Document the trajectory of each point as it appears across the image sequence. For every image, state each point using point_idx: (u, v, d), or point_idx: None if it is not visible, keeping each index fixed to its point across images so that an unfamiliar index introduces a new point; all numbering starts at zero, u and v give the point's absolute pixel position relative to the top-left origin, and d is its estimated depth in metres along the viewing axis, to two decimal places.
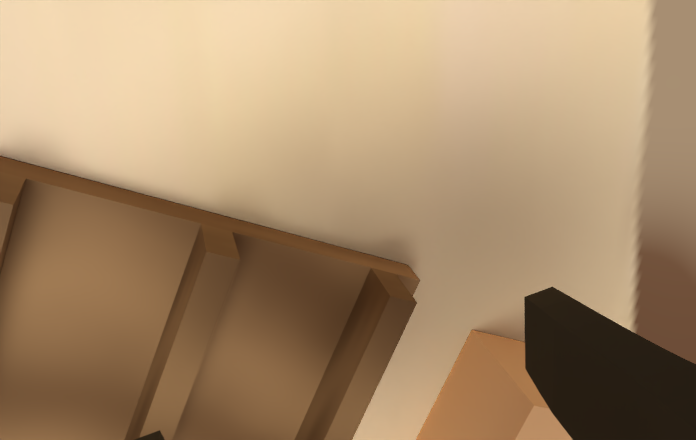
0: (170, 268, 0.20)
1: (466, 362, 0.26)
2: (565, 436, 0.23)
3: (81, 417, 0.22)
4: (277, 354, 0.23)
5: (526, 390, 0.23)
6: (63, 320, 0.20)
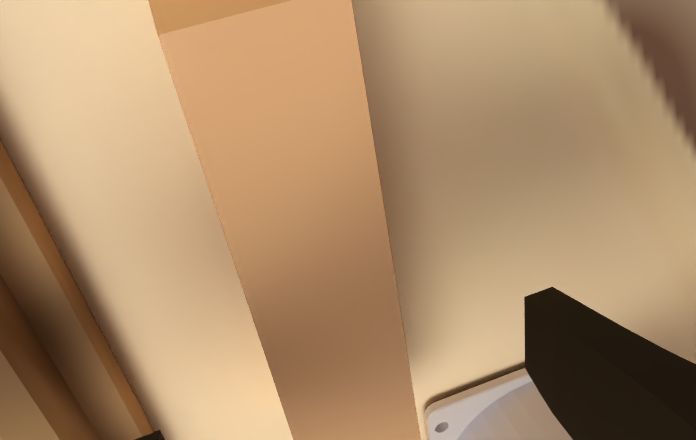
0: None
1: None
2: (302, 62, 0.11)
3: None
4: None
5: (171, 14, 0.10)
6: None
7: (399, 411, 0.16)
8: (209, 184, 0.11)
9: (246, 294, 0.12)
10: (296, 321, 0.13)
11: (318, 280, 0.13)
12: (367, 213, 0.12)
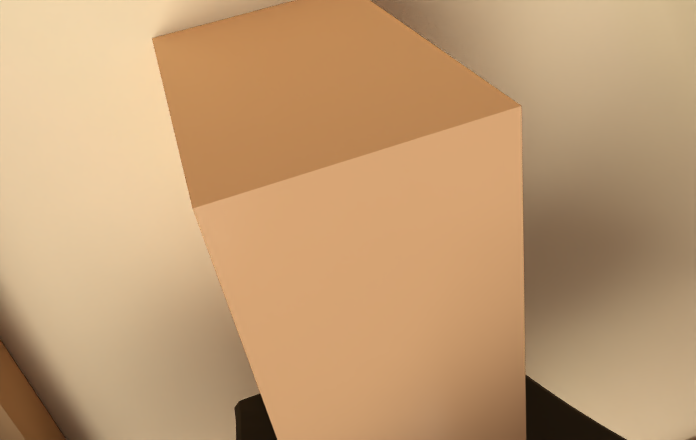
0: None
1: None
2: (432, 229, 0.06)
3: None
4: None
5: (211, 151, 0.06)
6: None
7: None
8: (270, 412, 0.07)
9: None
10: None
11: None
12: (501, 418, 0.08)
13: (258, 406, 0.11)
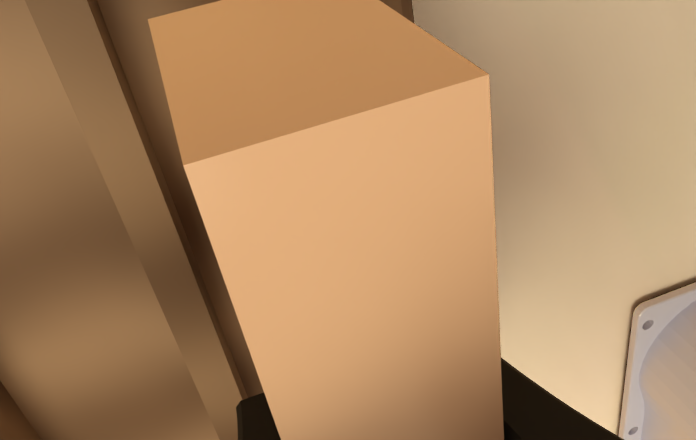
0: (31, 27, 0.14)
1: None
2: (408, 190, 0.07)
3: (88, 266, 0.17)
4: None
5: (202, 118, 0.07)
6: None
7: None
8: (257, 365, 0.07)
9: None
10: None
11: None
12: (477, 378, 0.09)
13: (260, 406, 0.11)
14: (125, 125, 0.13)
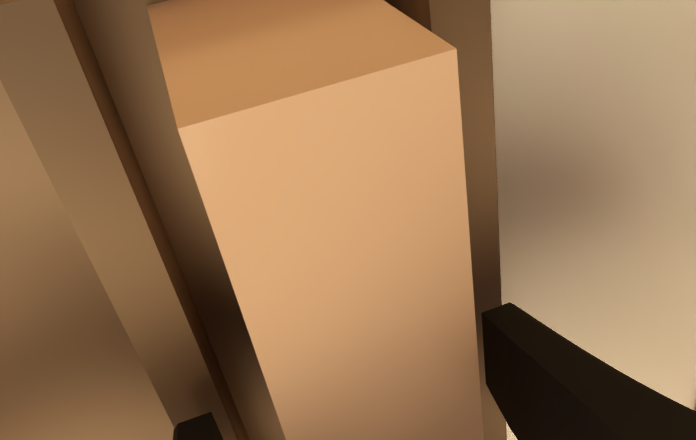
0: None
1: None
2: (383, 156, 0.07)
3: (85, 371, 0.14)
4: None
5: (195, 89, 0.07)
6: None
7: None
8: (246, 320, 0.08)
9: None
10: None
11: (384, 423, 0.10)
12: (454, 339, 0.09)
13: (196, 430, 0.11)
14: (133, 224, 0.10)
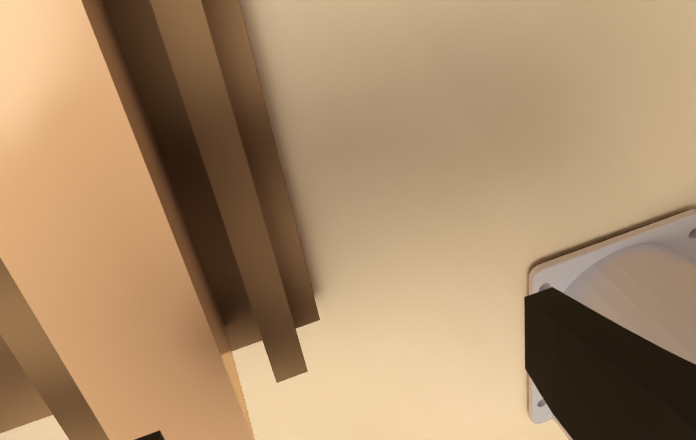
0: None
1: None
2: None
3: None
4: None
5: None
6: None
7: (196, 349, 0.14)
8: None
9: None
10: (42, 237, 0.12)
11: (58, 190, 0.12)
12: (103, 112, 0.11)
13: None
14: None
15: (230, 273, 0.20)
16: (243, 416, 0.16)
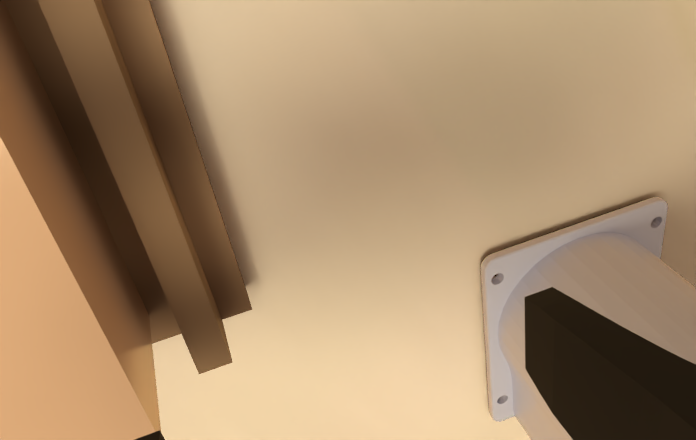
0: None
1: None
2: None
3: None
4: None
5: None
6: None
7: (79, 333, 0.13)
8: None
9: None
10: None
11: None
12: None
13: None
14: None
15: (149, 259, 0.19)
16: (141, 406, 0.15)
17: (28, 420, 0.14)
